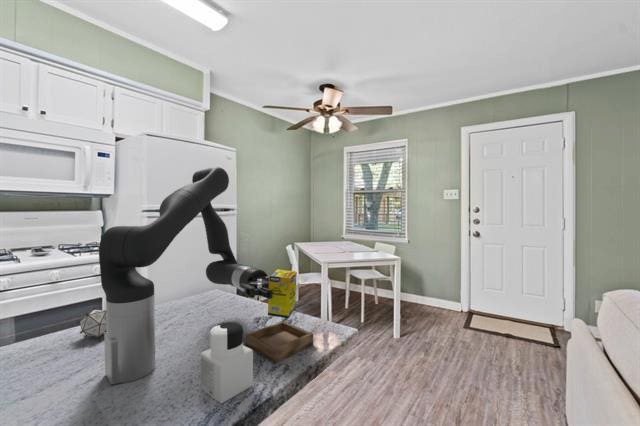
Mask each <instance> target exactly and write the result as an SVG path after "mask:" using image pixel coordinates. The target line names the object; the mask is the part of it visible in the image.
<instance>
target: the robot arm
mask: <svg viewBox="0 0 640 426" xmlns="http://www.w3.org/2000/svg"><path fill="white" fill-rule="evenodd" d="M191 180H192V181H191V182H192V183H190V184H189V183H188V184H186V185H184V186H182V187H180V188H178V189H177V190H174V191H173V192H172V193H170V194H169V195H167V196H166V197H165V198H164V199H163V200H162V201H161V203H160V207H159V217H158V218H156V219H155V220H154V221H152V222H150V223H149V224H146V225H141V226H139V225H135V226H134V225H132V226H131V225H115V226H112V227H110V228H108V229H107V230H105V231H104V233H103V234H102V235H101V238H100V241H99V246H98V260H99V261H98V262H99V271H100V273H99V274H100V282H101V287H102V290H103V292H104V295H105V307H106V309H105V311H106V320H107V330H106V331H107V332H104V333H103V335H104V375H105V374H106V375H105V376H107V377H106V378H107V381H108V382H109V384H110V383H111V384H114V385H116V384H115V383H117V384H122V383H129V382H134V381H136V380H137V381H138V380H139V379H142V378H143V377H146V376H147V375H149V374H150V373H152V372H153V371H154V370H155V369H156V359H157V357H156V355H157V354H156V322H155V321H156V317H155V316H156V315H155V314H156V313H155V310H156V308H155V307H156V306H155V284H154V281H152V280H151V279H150V278H149V279H148V278H147V277H145V276H143V275H142V274H140V272H138V270H137V269H136V268H147V267H149V266H151V265H153V264H154V263H156V262H157V261H158V260H159V259H160V257H161V256H162V255H163V254H164V253H165V251H166V250H167V249H168V247H169V246H170V245H171V243H172V242H173V241H174V240H175V238H176V237H177V236H178V235H179V234H180V233H181V232H182V231H183V229H184V228H185V227H187V225H189V224H190V223H191V222H192V221H193V220H194V219H195V218H196V217H197V216H198V215H199V214H201V216H202V220H203V225H204V228H205V234H206V242H207V249H208V252H209V254H212V255H220V257H221V258H222V259H221V260H216V261H215V260H214V261H212V262H210V263H209V264H207V266H206V269H205V275H206V278H207V279H208V281H210V282H211V283H213V284H214V285H217V284H218V285H224V286H225V285H229V286H231V287H234V288H236V289H238V290H240V294H242V295H244V296H246V297H248V298H250V299H254V298H255V297H256V296H257V297H259V298H260V297H261V298H262V297H263V298H265V299H272V290H269V276H270V275H268V274H267V273H266V271H264V270H262V269H259V268H257V267H253V266H249V265H244V264H239V263H238V261H237V259H236V257H235V255H234V252H233V250H232V248H231V245H230V239H229V233H228V228H227V226H226V225H227V224H226V223H225V222H224V220H223V219H222V218H221V217H220V215H219V214H218V213H217V212H216V210H215V208H214V206H213V205H212V201H213V200H214V199H215V198H217V197H218V196H219V195H221V194H223V193H224V192H226V190H227V189H228V188H229V184H230V177H229V174H228V173H227V170H225V169H224V168H222V167H219V166H211V167H208V168H205V169H201V170H197V171H196V172H194V173H193V174H192V179H191ZM297 288H298V287H297V284H296V291H297ZM111 384H110V385H111Z"/></svg>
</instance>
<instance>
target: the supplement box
mask: <svg viewBox="0 0 640 426" xmlns="http://www.w3.org/2000/svg"><path fill="white" fill-rule="evenodd" d="M297 275H298V271H295V270H285V269H276V270H275V271H274V272H272V273H271V274H270V275H268V276H269V290H272V299H268V300H267V301H268V303H267V315H268V316H270V317H277V318H283V319H289V318H290V317H291V316H292V314H293V313H294V311H295V310H296V302H297V301H296V299H297V298H296V297H297V290H296V285H297V278H298V277H297Z"/></svg>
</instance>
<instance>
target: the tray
mask: <svg viewBox="0 0 640 426" xmlns="http://www.w3.org/2000/svg"><path fill="white" fill-rule="evenodd" d="M244 338H245V340H244V346H246V347H248V348H250V349H252V350H253V352H255V353H257V354H258V355H260V356H261V357H264V358H265V359H267V360H268V361H270V362H271V363H274V364H277V363H279V362H282V361H283V360H285V359H288V358H290V357H291V356H293V355H296V354H297V353H299V352H302V351H304V350H305V349H307V348H310V347H312V346H314V333H312V332H310V331H308V330H305V329H304V328H300V327H298V326H296V325H293V324H290V323H289V322H287V321H285V320H282V321H279V322H276V323H273V324H270V325H267V326H265V327H262V328H260V329H257V330H254V331H251V332H248V333H246V334H244Z"/></svg>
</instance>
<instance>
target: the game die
mask: <svg viewBox="0 0 640 426" xmlns="http://www.w3.org/2000/svg"><path fill="white" fill-rule="evenodd" d="M96 308H97V307H95V306H94V307H93V309H92V310H91V311H90V312H89V313H88V312H86V313H85V317H83V318H82V319H80V320H77V321H76V323H77V324H79V325H80V330H81V331H80V332H79V334H84V337H86V338H87V337H94V338H95V337H96V338H97V339H98V340H100V339H101V336H102V335H104V334H105V332H107V320H106V309H105V310H104V309H103V310H102V309H96Z"/></svg>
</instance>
